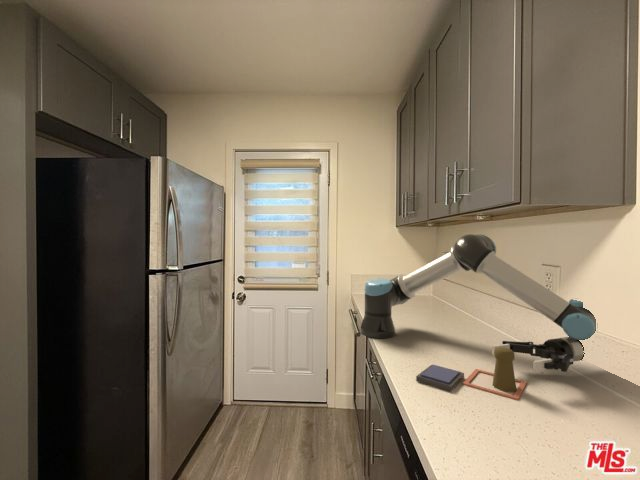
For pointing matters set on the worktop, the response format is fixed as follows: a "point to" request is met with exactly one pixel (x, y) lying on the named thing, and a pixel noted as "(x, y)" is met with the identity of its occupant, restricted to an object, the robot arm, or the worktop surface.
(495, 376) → the cork
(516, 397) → the marked square
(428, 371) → the ink pad
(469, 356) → the worktop surface
